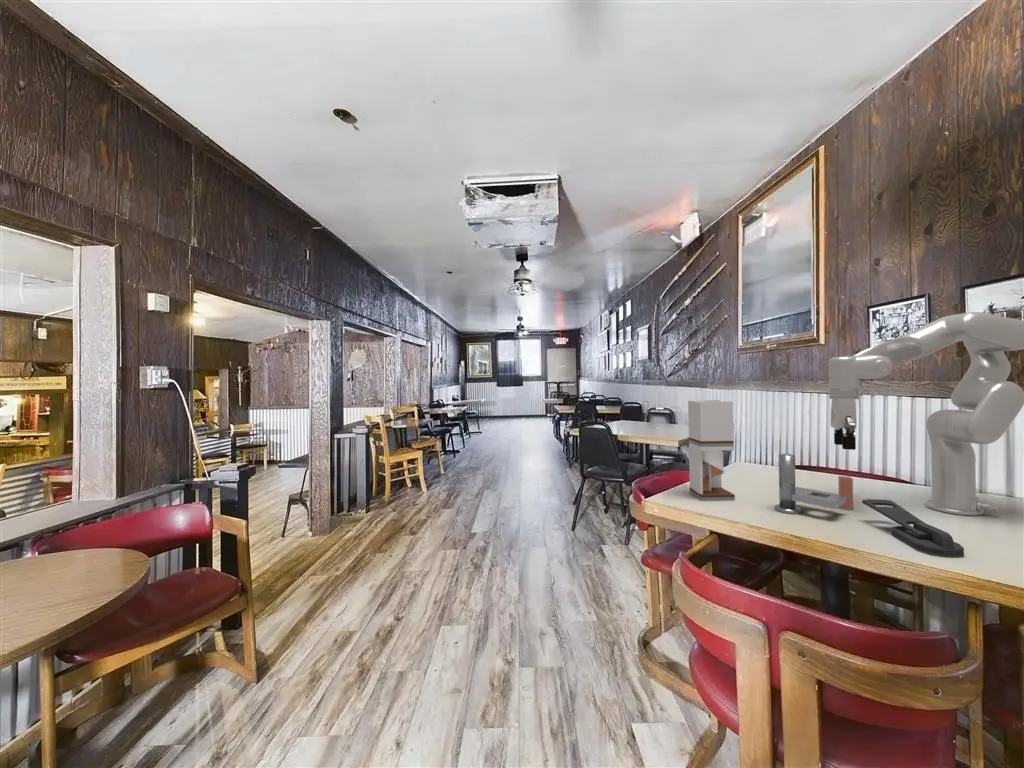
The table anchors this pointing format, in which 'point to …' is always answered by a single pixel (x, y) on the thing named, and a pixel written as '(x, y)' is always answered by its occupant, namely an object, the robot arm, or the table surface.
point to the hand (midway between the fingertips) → (844, 446)
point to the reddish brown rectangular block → (846, 491)
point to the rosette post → (800, 490)
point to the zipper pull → (917, 531)
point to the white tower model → (709, 447)
